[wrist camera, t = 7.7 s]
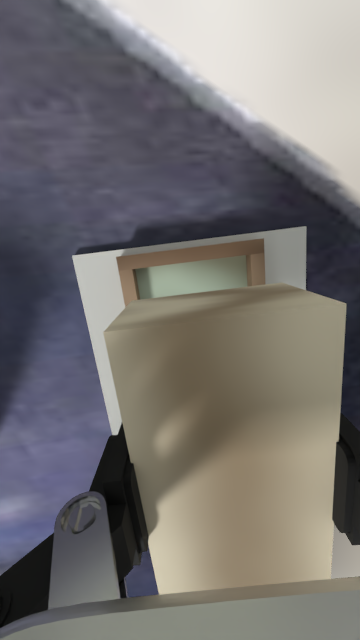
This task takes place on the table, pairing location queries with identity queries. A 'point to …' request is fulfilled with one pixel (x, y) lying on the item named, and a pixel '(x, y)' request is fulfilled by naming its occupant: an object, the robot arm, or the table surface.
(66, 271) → the table surface
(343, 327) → the tall cream rectangular prism
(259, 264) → the frame
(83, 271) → the mat
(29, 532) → the table surface
